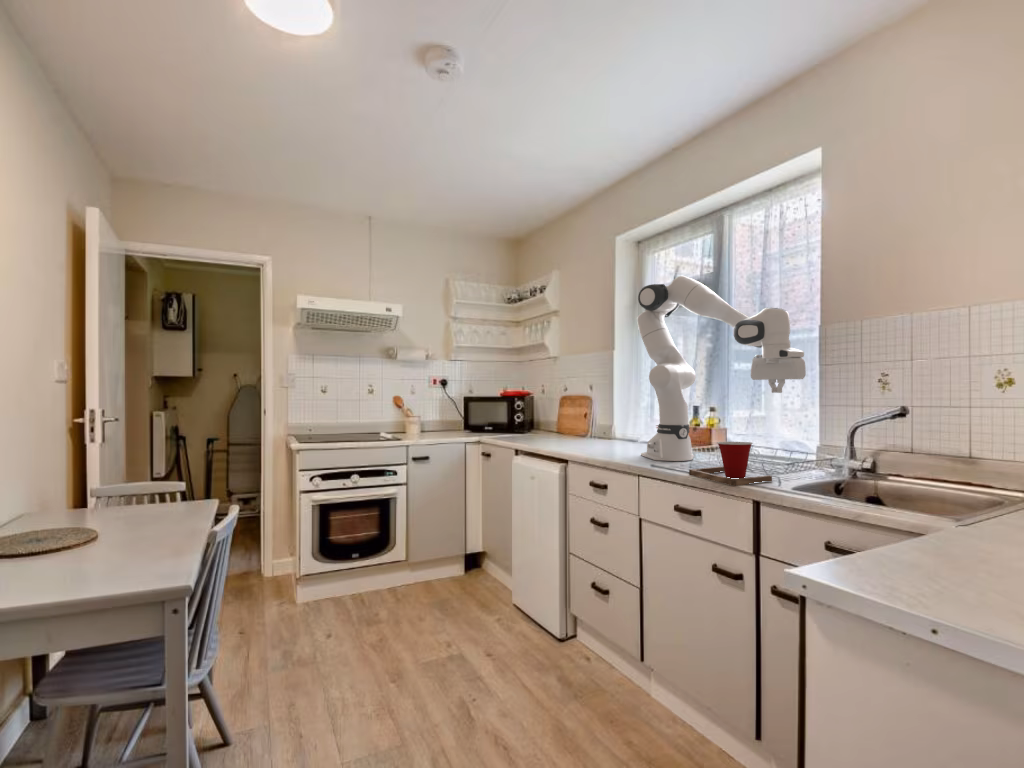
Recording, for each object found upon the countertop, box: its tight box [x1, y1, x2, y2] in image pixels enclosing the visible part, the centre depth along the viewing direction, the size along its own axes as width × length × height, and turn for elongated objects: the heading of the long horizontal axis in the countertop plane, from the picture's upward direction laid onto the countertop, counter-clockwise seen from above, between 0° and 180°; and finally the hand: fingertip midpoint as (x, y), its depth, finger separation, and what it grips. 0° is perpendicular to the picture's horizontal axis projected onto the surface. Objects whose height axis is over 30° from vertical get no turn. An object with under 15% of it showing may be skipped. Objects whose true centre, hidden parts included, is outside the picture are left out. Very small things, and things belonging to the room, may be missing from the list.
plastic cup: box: [716, 441, 753, 478], centre depth 164 cm, size 11×11×12 cm
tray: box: [688, 465, 773, 487], centre depth 163 cm, size 20×15×2 cm
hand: (776, 392), depth 175 cm, fingers closed
